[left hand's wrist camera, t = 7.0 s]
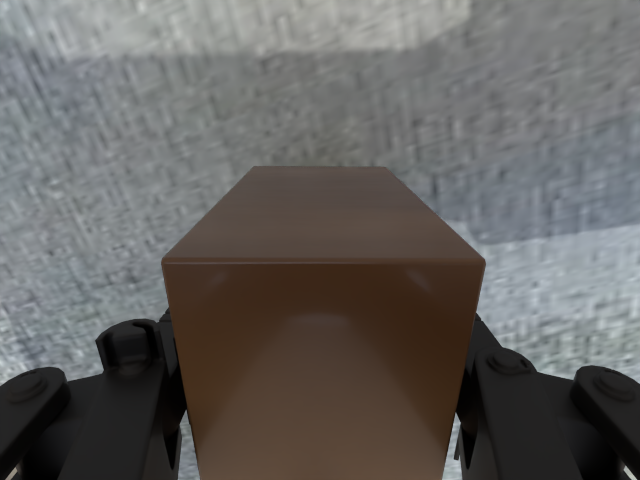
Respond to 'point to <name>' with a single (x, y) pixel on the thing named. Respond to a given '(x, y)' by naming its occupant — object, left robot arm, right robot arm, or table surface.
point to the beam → (322, 327)
